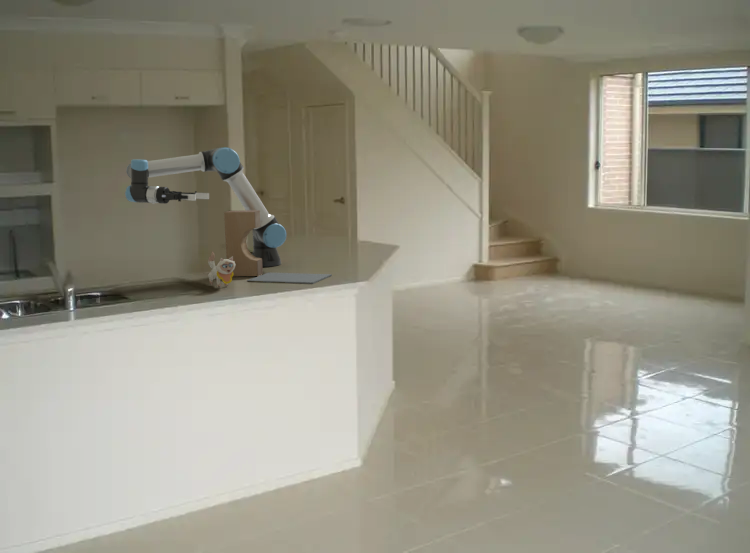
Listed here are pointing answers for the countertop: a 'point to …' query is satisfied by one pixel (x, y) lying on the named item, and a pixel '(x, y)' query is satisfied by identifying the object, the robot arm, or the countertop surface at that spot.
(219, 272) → the toy
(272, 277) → the mat
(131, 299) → the countertop surface
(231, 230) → the decorative block
